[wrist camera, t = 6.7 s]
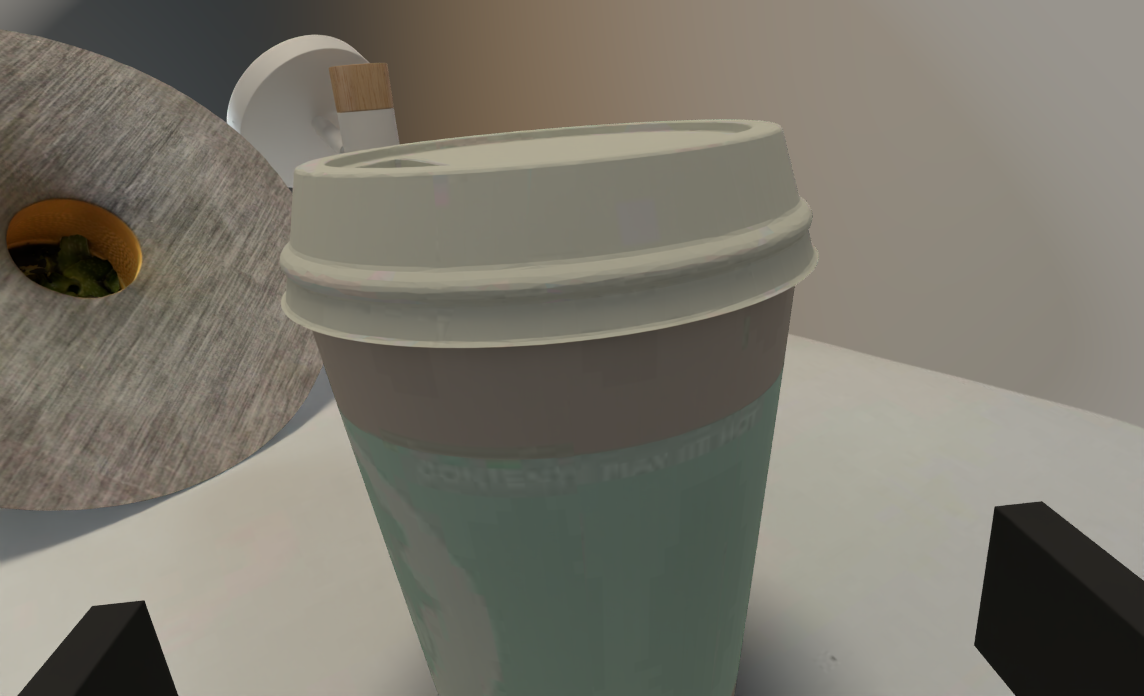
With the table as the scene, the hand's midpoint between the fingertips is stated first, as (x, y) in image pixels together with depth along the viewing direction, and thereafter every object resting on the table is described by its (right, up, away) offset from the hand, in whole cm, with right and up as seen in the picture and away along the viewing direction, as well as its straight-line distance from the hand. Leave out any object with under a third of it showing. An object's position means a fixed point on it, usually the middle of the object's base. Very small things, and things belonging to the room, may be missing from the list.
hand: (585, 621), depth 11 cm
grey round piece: (-25, -1, +28) cm, 37 cm away
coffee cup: (0, -6, +8) cm, 10 cm away
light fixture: (-16, +7, +48) cm, 51 cm away
